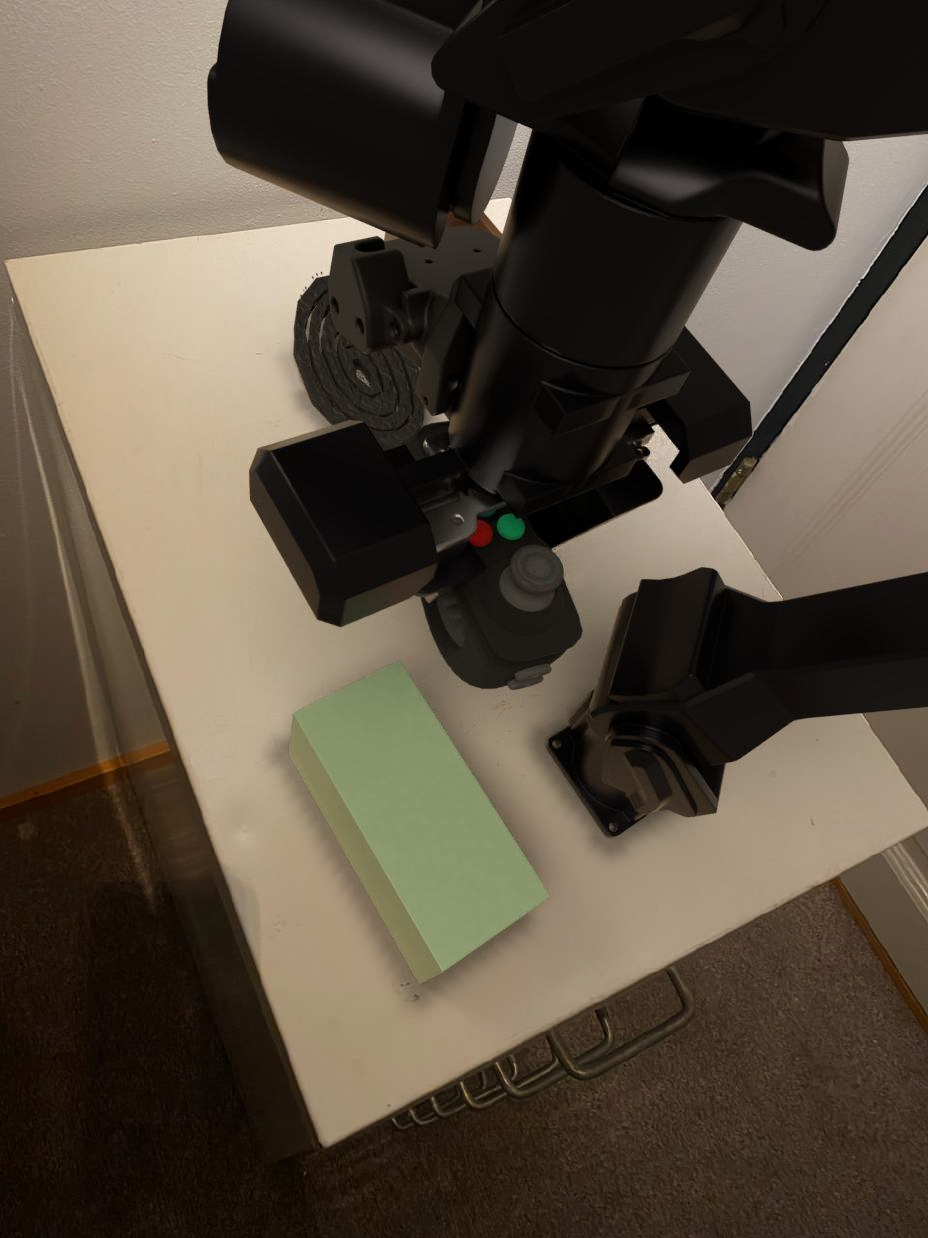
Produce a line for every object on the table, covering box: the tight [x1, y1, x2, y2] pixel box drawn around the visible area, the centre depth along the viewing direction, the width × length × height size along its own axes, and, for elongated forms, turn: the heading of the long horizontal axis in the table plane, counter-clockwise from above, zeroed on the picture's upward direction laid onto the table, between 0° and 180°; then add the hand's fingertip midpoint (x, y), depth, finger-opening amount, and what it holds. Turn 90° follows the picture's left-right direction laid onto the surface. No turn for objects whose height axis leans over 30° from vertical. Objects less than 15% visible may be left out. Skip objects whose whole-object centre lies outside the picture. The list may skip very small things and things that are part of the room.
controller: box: [401, 420, 584, 691], centre depth 36 cm, size 4×12×10 cm, turn 21°
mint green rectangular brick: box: [288, 659, 552, 985], centre depth 41 cm, size 13×6×6 cm, turn 33°
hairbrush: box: [292, 271, 425, 451], centre depth 54 cm, size 8×4×25 cm
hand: (471, 573), depth 37 cm, fingers closed on controller, 4 cm apart
